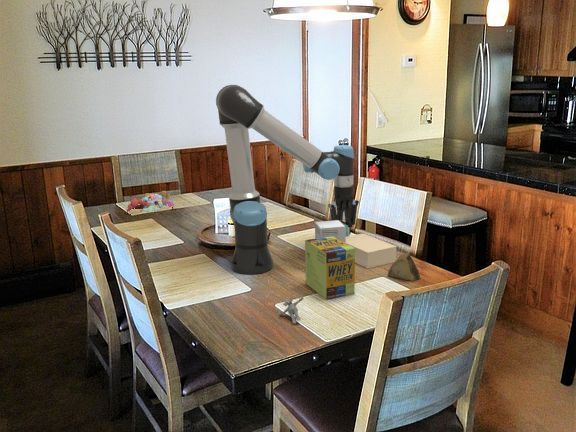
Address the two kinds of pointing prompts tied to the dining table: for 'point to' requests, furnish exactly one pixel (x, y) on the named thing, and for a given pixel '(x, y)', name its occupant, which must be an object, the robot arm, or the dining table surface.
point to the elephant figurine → (292, 309)
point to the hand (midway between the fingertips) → (343, 243)
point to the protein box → (330, 267)
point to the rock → (404, 268)
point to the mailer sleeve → (371, 250)
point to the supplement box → (330, 230)
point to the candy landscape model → (151, 202)
